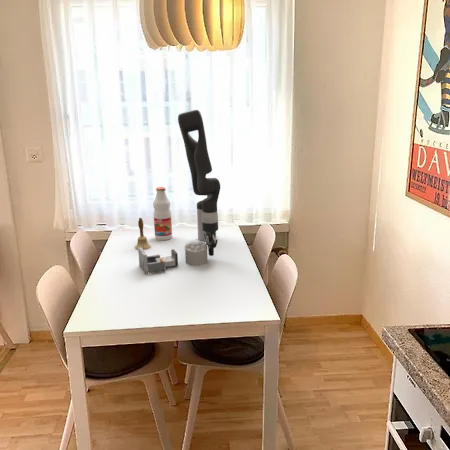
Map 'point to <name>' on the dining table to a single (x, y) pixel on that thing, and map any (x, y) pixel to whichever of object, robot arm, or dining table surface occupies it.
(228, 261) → the dining table surface
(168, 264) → the grey boxy piece
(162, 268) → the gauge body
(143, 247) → the hand bell
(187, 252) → the paw print stamp
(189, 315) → the dining table surface
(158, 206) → the fruit juice
